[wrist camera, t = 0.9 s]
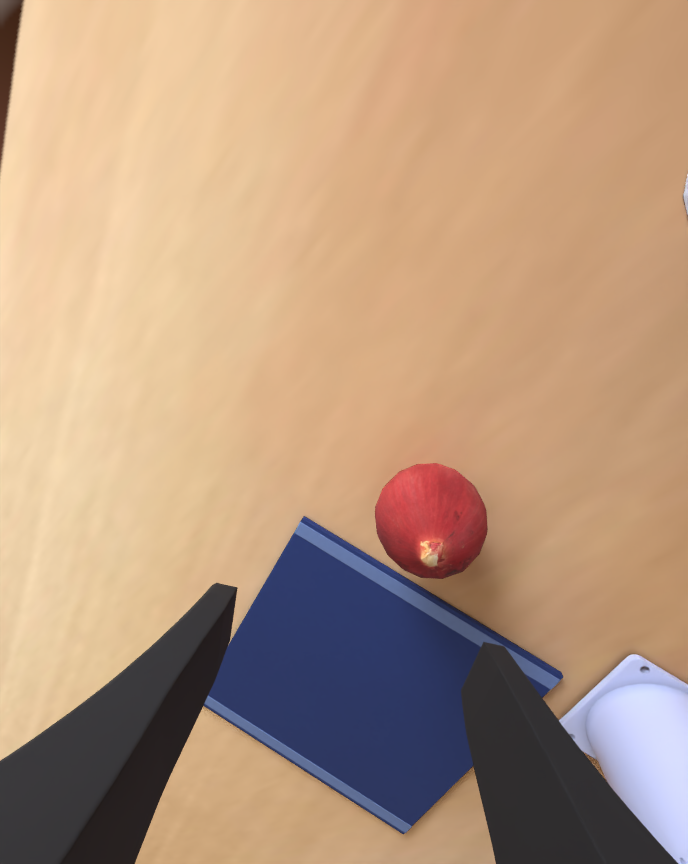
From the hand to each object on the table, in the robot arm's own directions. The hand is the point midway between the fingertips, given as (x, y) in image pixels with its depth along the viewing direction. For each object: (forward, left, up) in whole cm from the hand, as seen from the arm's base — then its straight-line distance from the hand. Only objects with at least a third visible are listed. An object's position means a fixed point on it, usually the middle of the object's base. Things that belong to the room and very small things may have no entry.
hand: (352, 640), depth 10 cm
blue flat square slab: (-7, +15, -14) cm, 22 cm away
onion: (-3, -1, -14) cm, 14 cm away
